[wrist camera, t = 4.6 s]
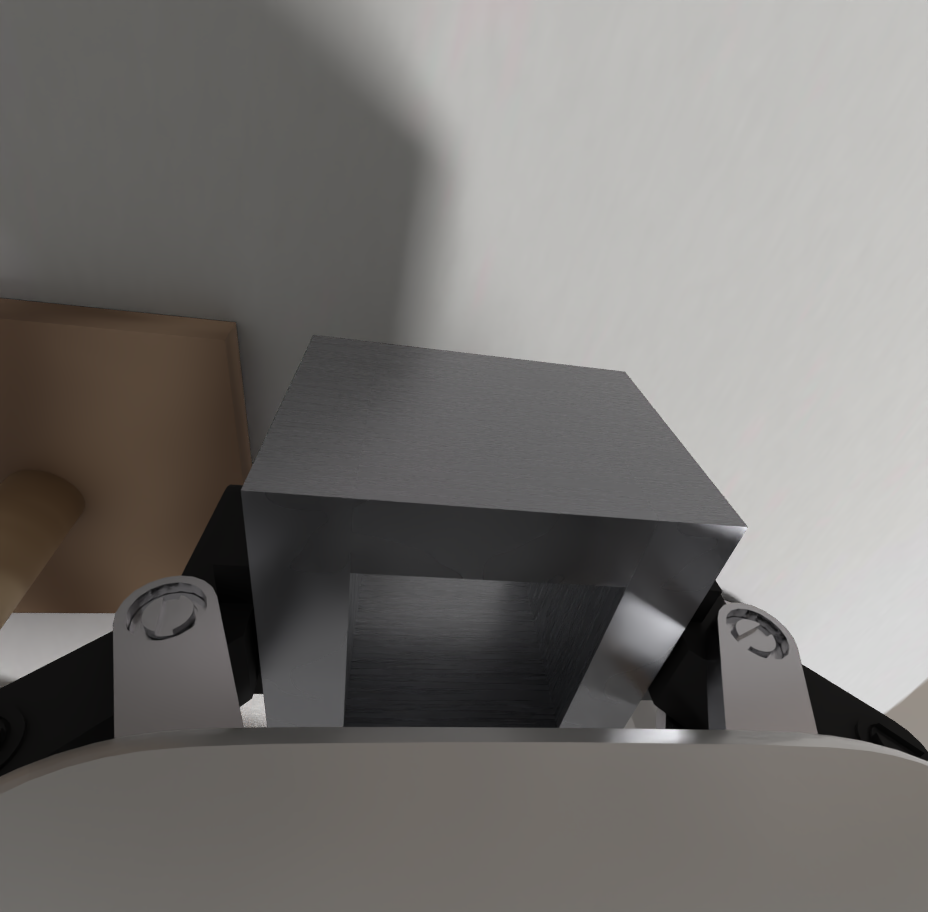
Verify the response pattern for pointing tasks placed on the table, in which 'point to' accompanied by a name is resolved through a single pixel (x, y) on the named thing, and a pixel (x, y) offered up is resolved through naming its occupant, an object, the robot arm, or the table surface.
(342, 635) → the collar
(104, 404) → the post base
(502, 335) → the table surface
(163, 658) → the robot arm
